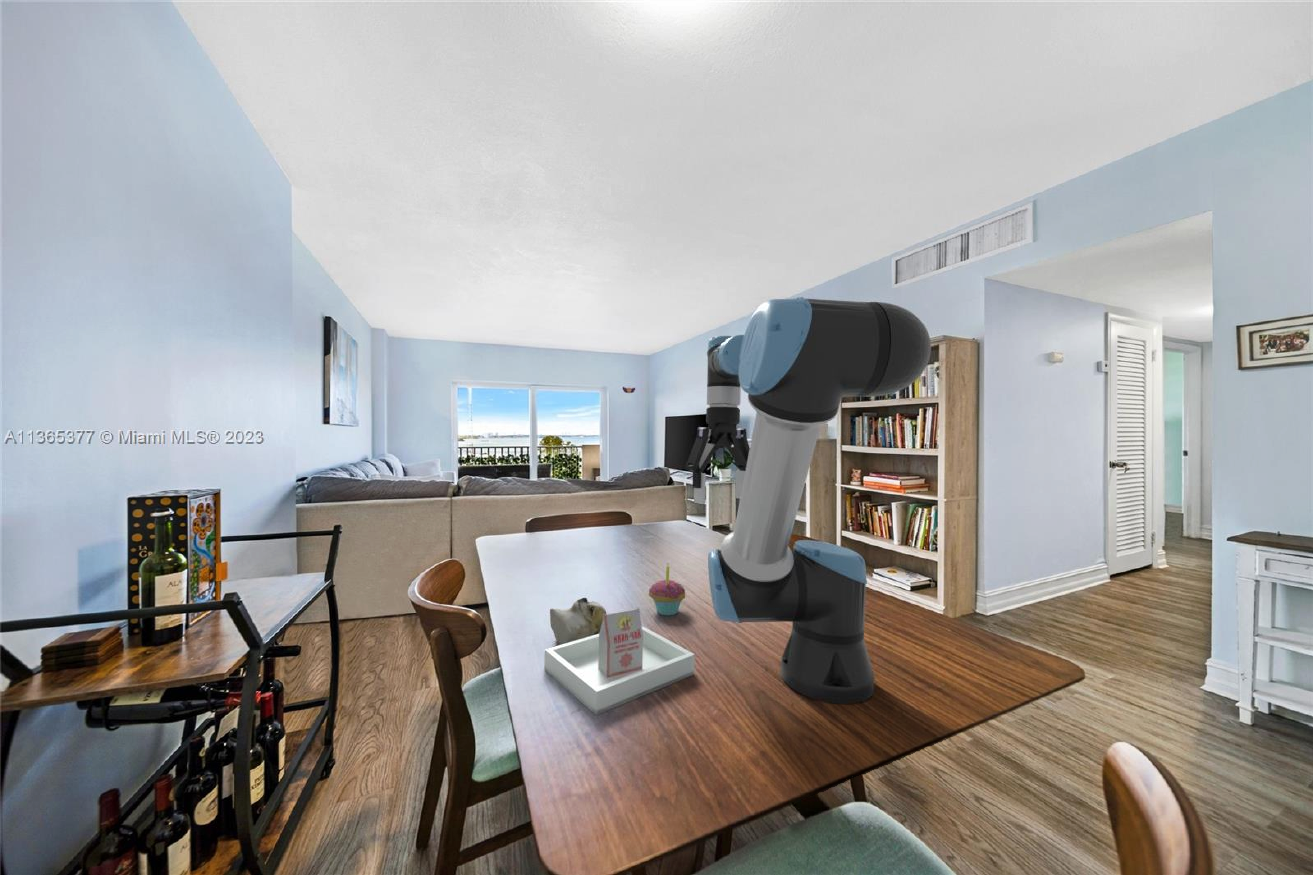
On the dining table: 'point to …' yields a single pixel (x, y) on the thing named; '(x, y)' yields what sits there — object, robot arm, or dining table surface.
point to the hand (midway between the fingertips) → (720, 500)
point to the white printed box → (620, 643)
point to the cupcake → (667, 595)
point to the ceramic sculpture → (577, 621)
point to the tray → (601, 693)
